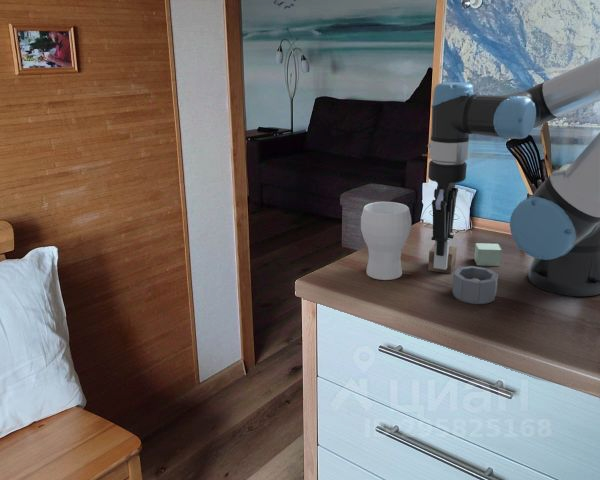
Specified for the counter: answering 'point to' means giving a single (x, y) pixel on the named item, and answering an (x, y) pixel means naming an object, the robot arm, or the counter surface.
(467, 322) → the counter surface
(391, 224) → the cup
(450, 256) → the walnut box
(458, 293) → the ramekin
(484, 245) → the sage block
